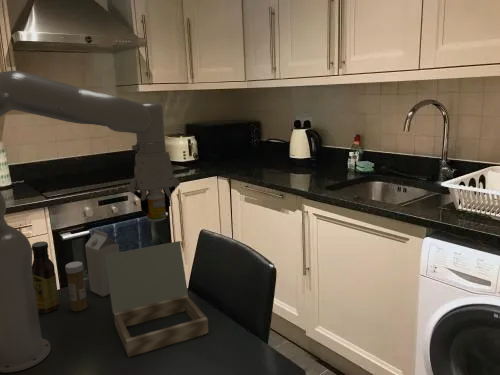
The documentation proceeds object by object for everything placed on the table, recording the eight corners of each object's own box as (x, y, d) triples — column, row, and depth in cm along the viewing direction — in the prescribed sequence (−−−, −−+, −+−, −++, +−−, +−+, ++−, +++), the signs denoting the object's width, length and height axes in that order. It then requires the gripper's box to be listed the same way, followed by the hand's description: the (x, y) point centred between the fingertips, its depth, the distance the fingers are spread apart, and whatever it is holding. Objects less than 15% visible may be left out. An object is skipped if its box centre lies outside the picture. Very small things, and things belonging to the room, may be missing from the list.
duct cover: (104, 255, 114) (104, 255, 114) (113, 313, 113) (112, 312, 114) (180, 241, 123) (179, 241, 123) (187, 294, 123) (187, 294, 123)
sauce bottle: (32, 309, 125) (22, 243, 121) (53, 301, 129) (45, 237, 125) (41, 317, 121) (31, 249, 116) (63, 308, 125) (55, 242, 121)
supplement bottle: (145, 217, 127) (143, 185, 125) (164, 215, 129) (161, 183, 127) (149, 222, 122) (146, 188, 120) (168, 220, 124) (165, 186, 122)
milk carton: (110, 282, 141) (104, 226, 137) (123, 288, 137) (117, 230, 132) (90, 290, 136) (83, 232, 131) (103, 297, 131) (96, 237, 127)
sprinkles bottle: (89, 308, 125) (84, 264, 122) (73, 313, 122) (67, 268, 119) (85, 302, 128) (80, 259, 125) (69, 307, 126) (63, 263, 123)
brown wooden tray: (128, 357, 101) (126, 341, 101) (115, 327, 114) (114, 313, 114) (208, 333, 110) (207, 319, 110) (188, 308, 123) (187, 295, 122)
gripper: (122, 152, 114) (128, 219, 118) (185, 147, 122) (189, 209, 126) (117, 149, 121) (122, 212, 125) (176, 144, 128) (180, 204, 132)
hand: (156, 210), depth 125 cm, fingers closed on supplement bottle, 5 cm apart
